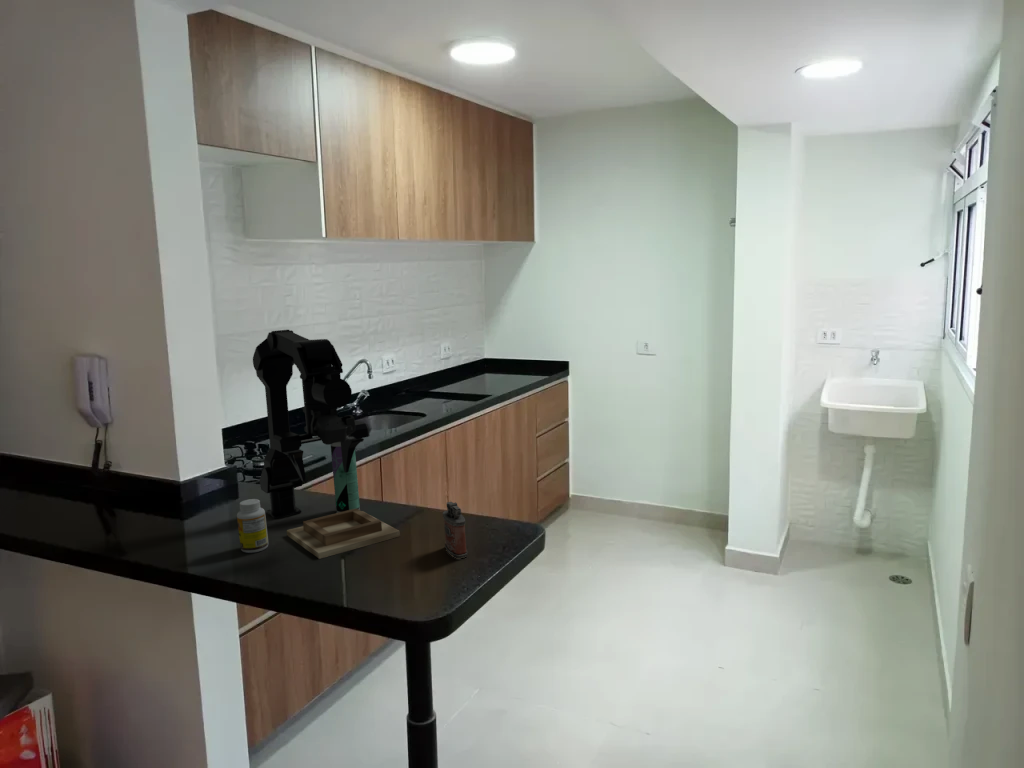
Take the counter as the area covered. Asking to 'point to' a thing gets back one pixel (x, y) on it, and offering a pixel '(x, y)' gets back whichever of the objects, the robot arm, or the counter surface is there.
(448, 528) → the lighter
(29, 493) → the counter surface
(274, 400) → the robot arm
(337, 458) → the spray can
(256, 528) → the supplement bottle
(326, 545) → the holder board
